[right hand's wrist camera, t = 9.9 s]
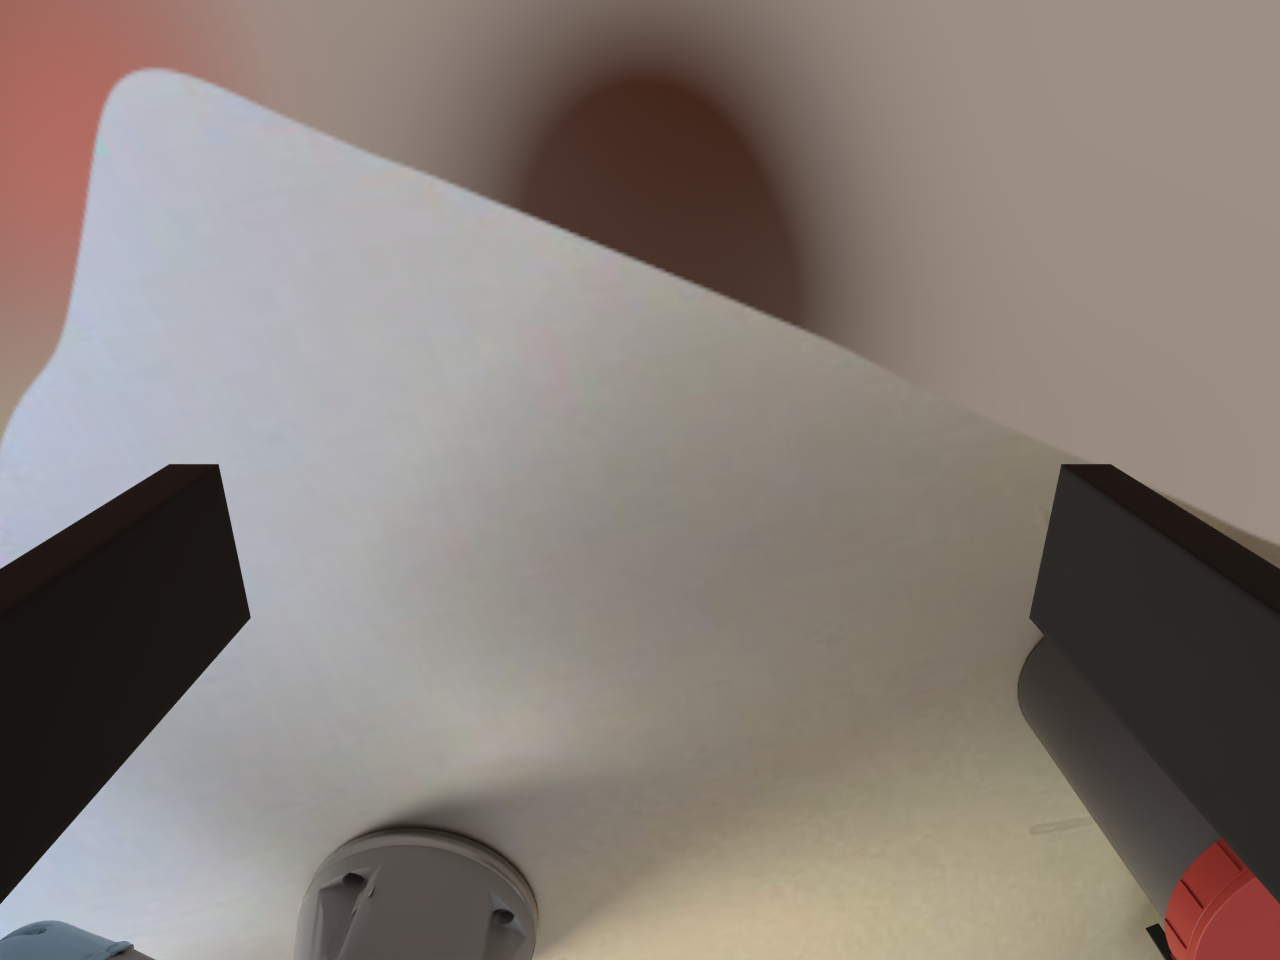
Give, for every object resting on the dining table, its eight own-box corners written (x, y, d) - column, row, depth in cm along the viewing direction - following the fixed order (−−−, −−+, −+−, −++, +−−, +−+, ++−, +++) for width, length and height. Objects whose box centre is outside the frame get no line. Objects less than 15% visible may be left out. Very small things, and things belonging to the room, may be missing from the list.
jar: (1226, 682, 45) (1513, 937, 30) (1076, 775, 48) (1273, 1052, 33) (1136, 571, 43) (1403, 791, 28) (983, 676, 45) (1151, 928, 30)
